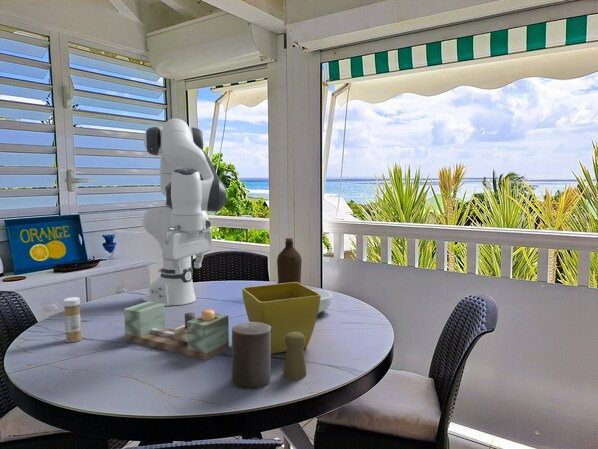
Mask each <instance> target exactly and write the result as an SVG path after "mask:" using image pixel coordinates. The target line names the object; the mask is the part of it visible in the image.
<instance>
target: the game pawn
mask: <svg viewBox="0 0 598 449" xmlns="http://www.w3.org/2000/svg"><path fill="white" fill-rule="evenodd" d="M304 343H305V336H304V335H303V334H302V333H300V332H290V333H288V334H287V335H286V337H285V344H286V345H287V351H285V361H284V369H283V377H284V378H286V379H287V380H292V381H293V380H295V381H296V380H301V379H304V378H306V377H307V367H306V365H307V364H306V360H305V350H304V348H303V345H304Z"/></svg>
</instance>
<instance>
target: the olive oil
mask: <svg viewBox="0 0 598 449" xmlns="http://www.w3.org/2000/svg"><path fill="white" fill-rule="evenodd" d="M284 244H285V247H284V248H283V249H282V250H281V251H280V252H279V254H278V255H277V258H276V266H277V284H282V283H292V282H297V283H300V284H301V282H302V281H301V280H302V263H303V262H302V261H303V260H302V256H301V254H300V253H299V252H298V251H297V249H296V248H295V247H294V238H293V237H285V243H284Z"/></svg>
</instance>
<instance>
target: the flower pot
mask: <svg viewBox="0 0 598 449" xmlns="http://www.w3.org/2000/svg"><path fill="white" fill-rule="evenodd" d="M241 290H242V298H243V303H244V307H245V312H246V316H247V319H248V322H259V323H264V324H267V325H269V326H271V354H278V353H284V352H285V353H286V351H287V345H286V344H285V337H286V335H287V334H288V333H290V332H300V333H302V334H303V335H304V336H305V343H304V345H303V349H306V348H308V346H309V343H310V342H311V338H312V335H313V333H314V329H315V326H316V322H317V319H318V315H319V314H318V310H319V304H320V298H321V295H320V294H319V293H317V292H315V291H313V290H314V289H311V288H309V287H307V286H305V285H303V284H300V283H297V282H292V283H282V284H278V283H273V284H262V285H257V286H255V285H254V286H245V287H242V288H241Z"/></svg>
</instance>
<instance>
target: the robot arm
mask: <svg viewBox="0 0 598 449" xmlns="http://www.w3.org/2000/svg"><path fill="white" fill-rule="evenodd" d="M205 142H206V141H205V137H204V134H203V131H202V130H201V129H200V128H197V127H193V126H191V127H189V125H188V123H187V122H186V121H185V120H183V119H181V118H176V117H175V118H170V119H168V120H167V121H166V122H165V123H164V124H163V126H160V127H159V126H153V127H149V128H147V129H146V130H145V133H144V136H143V145H144V147H145V150H146V152H147V153H148V154H149V155H152V156H160V162H159V179H160V182H159V183H160V191H161V193H162V194H163V196H165V205H166V206H167V207H166V206H165V207H163V206H161V207H159V206H158V207H155V208H151V209H147V210H145V212H144V213H143V216H142V227H143V229H144V230H145V231H146V232H147V233H148V234H150V235H151V236H152V237H153V238H154V239H155V240H156V241H157V242H158V245H159V246H160V248H161V257H162V263H163V267H162V268H158V273H160V276H159V277H158V278H156V280H155V281H153V282H152V283H151V284H150V285H149V288H148V294H147V295H145V296H144V297H142V301H143V302H148V301H151V302H157V303H162V304H164V307H168V306H181V305H187V304H190V303H194V302H196V300H197V296H196V294H195V289H194V288H195V287H194V282H193V273H194V272H193V268H194V269H200V268H202V262H203V259H204V256H205V255H204V253H207V252H210V251H211V249H212V245H213V244H212V243H213V238H212V235H213V234H212V230H211V228H212V227H213V222H212V221H211V220H209V215H208V213H207V212H215V213H217V212H219V211H220V210H222V209H223V208H224V207H225V205H226V204H227V197H228V196H227V191H226V187H225V185H224V183H223V182H222V180H221V179H220V178H219V175H218V173H217V172H216V171H217V170H216V169H215V166H214V165H213V163H212V161H211V159H210V157H209V155H208V153H207V152H206V151H205V150H204V148H205ZM192 256H195V257H196V258H195V261H194V262H193V266H192Z"/></svg>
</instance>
